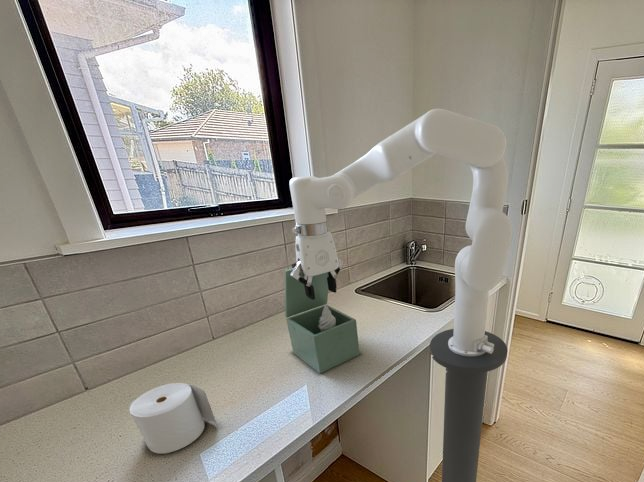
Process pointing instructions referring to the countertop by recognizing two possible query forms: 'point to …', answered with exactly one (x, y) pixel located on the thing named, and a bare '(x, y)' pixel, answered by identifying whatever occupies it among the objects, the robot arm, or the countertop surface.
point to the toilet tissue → (171, 416)
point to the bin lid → (297, 296)
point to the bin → (323, 339)
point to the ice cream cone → (326, 320)
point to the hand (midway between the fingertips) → (322, 294)
